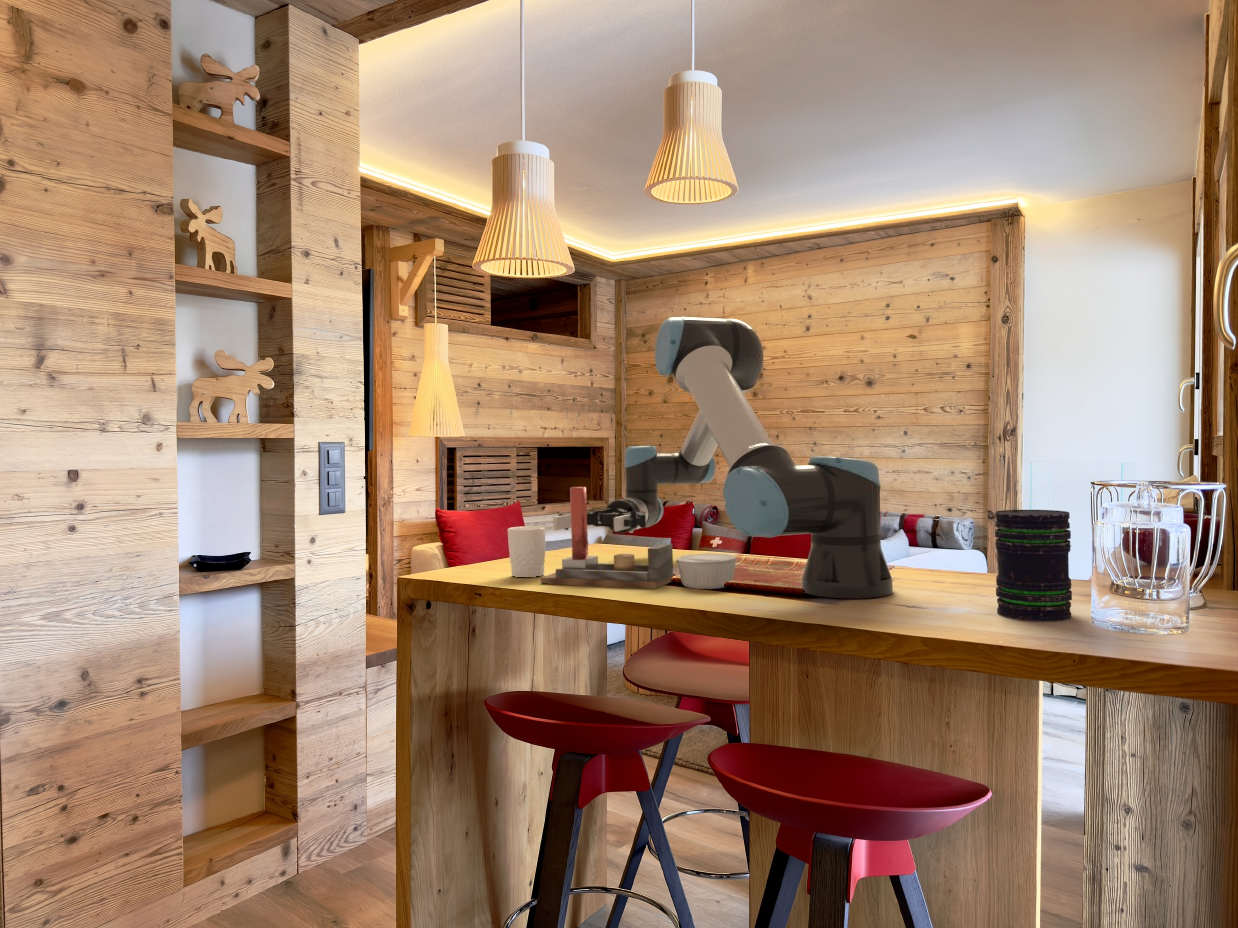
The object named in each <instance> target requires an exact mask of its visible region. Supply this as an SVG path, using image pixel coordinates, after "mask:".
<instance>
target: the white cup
mask: <svg viewBox="0 0 1238 928" xmlns="http://www.w3.org/2000/svg"><path fill="white" fill-rule="evenodd" d="M546 531H547V530H546V526H541V525H540V526H539V525H532V526H531V525H526V526H525V525H524V526H514V527H509V528H507V538H508V540H507V542H508V550H509V551H508V552H509V563H510V568H511V577H512V576H516V577H533V578H537V577H536V576H540V577H543V576H544V575H545V562H546V559H545V558H546ZM542 575H543V576H542Z"/></svg>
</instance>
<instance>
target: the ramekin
mask: <svg viewBox="0 0 1238 928" xmlns="http://www.w3.org/2000/svg"><path fill="white" fill-rule="evenodd" d="M737 559H738V558H737V556H736V555H733V554H726V553H693V554H688V555H681V556H679V557H677V558H676V564H677V567H678V573H679V576H680V581H681V584H682V585H683V586H684V587H686V588H691V589H696V590H698V589H700V590H704V589H705V590H706V589H707V590H712V589H722V588H723V589H724V588H725V587H724V584H725V583H726V582H729V581H732V580H733V579H735V570H736V564H737V563H738V561H737ZM733 581H734V580H733Z"/></svg>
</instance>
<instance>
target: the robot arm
mask: <svg viewBox="0 0 1238 928" xmlns="http://www.w3.org/2000/svg"><path fill="white" fill-rule="evenodd" d="M763 350H764V348H763V344H762V342H761V340H760V338H759V336H758V334H757V333H756V332H755V330H754V329H753V328H752V327H751V326H750V325H748V324H747V323H745V322H743V321H742V320H740V319H736V318H713V317H712V318H711V317H694V316H693V317H689V316H683V315H682V316H680V317H675V316H674V317H673V316H671V317H668V318H667V319H665V320H664V321H663V322H662V323H661V325H660V327H659V329H658V332H657V336H656V339H655V349H654V361H655V367H656V371H657V372H658V373H659V375H661V376H665V377H666V378H667V377H670V376H672V377H674V379H675V381H676V383H677V385H678V387H679V388H680V389H681V390H683V391H684V392H687V393H690V394H691V395H692V397H693V400H694V401H695V403H696V405H697V408H698V409H699V410H698V412H697V414H696V416H695V419H694V421H693V423H692V425H691V426H690V429H689V431H688V433H687V436H686V438H685V440H684V443H682V446H681V448H680V450H679V452H671V453H670V452H658V451H657V448H656V446H655V445H636V446H634V445H632V446H628V447H627V448H626V449H625V452H624V453H625V455H624V472H625V473H624V477H625V498H621V499H615V500H613V501H612V502H610V503H609V504H608V505H607V507H605V508H603V509H600V510H589V511H587V526H589V525H590V526H591V525H592V526H593V527H597V528H598V527H605V528H609V530H611V531H612V532H613V533H617V534H625V533H628V532H629V534H633V533H634V531H635V530H639V529H644V528H649V527H652V526H654V525H655V524H657V523H658V522H660V520H661V519H662V518H663V515H664V505H663V503H662V500H660V498H659V497H658V486H659V485H660V486H662V485H688V484H690V485H691V484H694V485H695V484H701V483H708V482H710V481H712V480H713V479H714V478H715V477H714V476H715V474H716V473H715V471H716V460H715V458H714V454H715V452H716V450H717V448H719V450H720V452H721V453H722V455H723V457H724V459H725V462H726V464H727V465H728V467H729V468H728V469H727V473H726V478H725V481H724V483H723V489H722V495H723V496H722V498H723V500H724V501H725V503H724V508H725V509H724V510H725V511H726V512H725V513H726V515H727V517H728V519H729V521H730V522H731V524H732V525H733V526H734V527H735V529H736V530H738V531H739V532H740V533H741V534H743V535H746V536H748V537H752V538H753V537H756V538H758V537H760V538H761V537H762V538H768V539H769V538H775V537H779V536H792V535H806V534H807V535H808V534H810V542H811V543H810V550H809V553H808V556H807V560H806V563H805V567H804V571H803V573H802V577H801V589H802V588H803V589H804V590H805V592H804V593H805V594H807V595H811V596H817V597H823V598H831V599H833V598H834V599H870V598H871V599H872V598H874V599H875V598H880V597H885V596H889V595H891V594H893V592H894V591H893V590H894V589H893V578H892V574H891V572H890V569H889V567H888V563H887V561H886V558H885V555H884V552H883V550H882V542H881V541H882V539H881V537H882V535H881V532H882V531H881V487H882V486H881V484H880V474H879V473H880V472H879V468H878V466H877V465H876V464H875V463H874V462H873V461H870V460H865V459H860V458H859V459H858V458H848V457H836V456H820V455H819V456H816V455H815V456H811V457H810V458H809V461H808V463H807V464H796V463H795V462H794V460H793V458H792V456H791V455H790V454H789V452H788V451H787V449H786V448H785V447H783V446H781V445H779V444H773V443H772V441H771V439H770V437H769V435H768V434H767V432H766V430H765V428H764V427H763V425H762V423H761V422H760V420H759V418H758V416H757V414H756V413H755V411H754V409H753V408H752V406H751V404H750V403H749V400H748V399H747V397H746V396H745V395H746V393H747V392H748V391H751V390H752V389H753V388H754V387H755V386H756V384H757V382H758V381H759V378H760V376H761V373H762V371H763V367H764V366H763V365H764V357H765V356H764V351H763ZM557 515H558V516H557ZM557 515H556V516H553V531H559V530H564V531H569V529H570V528H571V512H570V513H559V514H557Z"/></svg>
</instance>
